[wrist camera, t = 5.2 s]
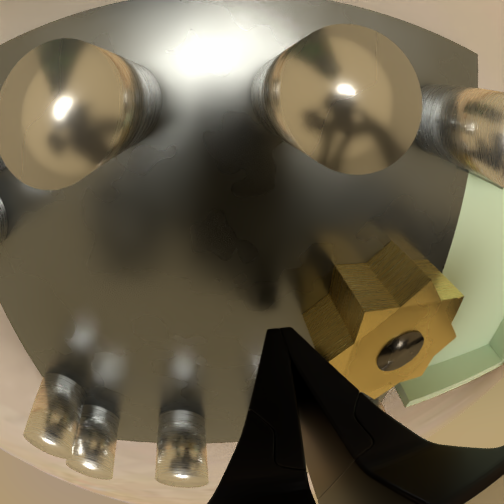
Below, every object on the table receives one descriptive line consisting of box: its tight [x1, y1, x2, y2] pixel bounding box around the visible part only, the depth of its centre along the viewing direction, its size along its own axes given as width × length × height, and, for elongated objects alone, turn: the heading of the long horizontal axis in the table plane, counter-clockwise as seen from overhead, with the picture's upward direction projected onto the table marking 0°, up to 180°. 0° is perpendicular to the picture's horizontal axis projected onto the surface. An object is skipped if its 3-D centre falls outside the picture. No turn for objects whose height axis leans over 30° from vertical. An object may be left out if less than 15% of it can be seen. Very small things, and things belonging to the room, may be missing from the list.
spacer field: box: [0, 0, 504, 488], centre depth 9 cm, size 18×20×4 cm
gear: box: [302, 240, 464, 399], centre depth 9 cm, size 6×6×2 cm
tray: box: [395, 171, 504, 408], centre depth 11 cm, size 9×12×2 cm
